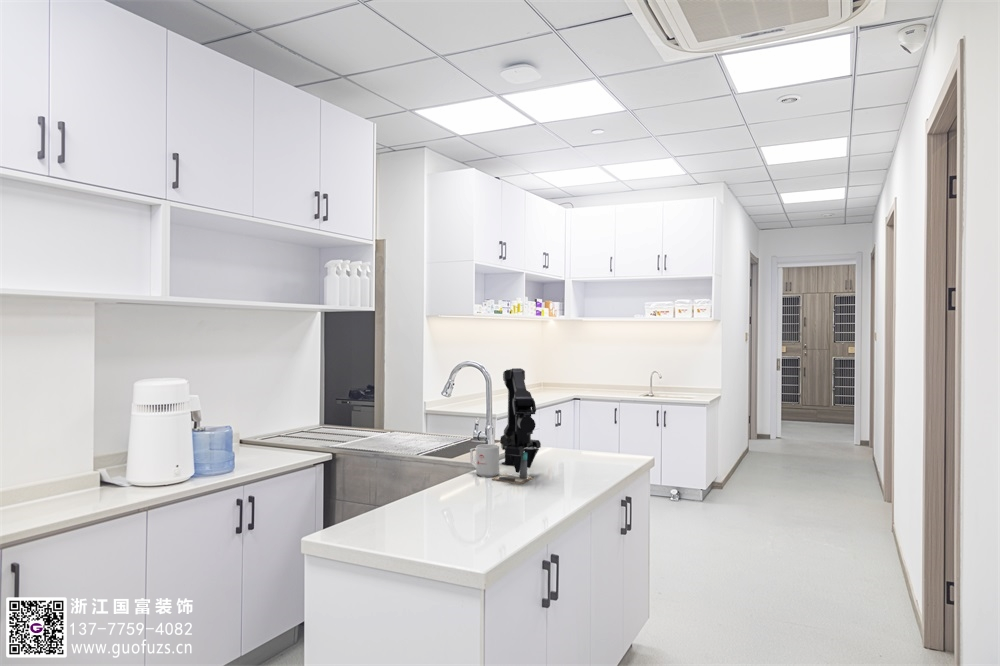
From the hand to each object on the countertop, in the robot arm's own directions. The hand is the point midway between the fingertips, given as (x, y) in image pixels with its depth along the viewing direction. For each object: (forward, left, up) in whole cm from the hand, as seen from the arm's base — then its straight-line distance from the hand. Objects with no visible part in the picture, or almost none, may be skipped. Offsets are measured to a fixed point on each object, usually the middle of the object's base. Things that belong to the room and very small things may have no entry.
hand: (523, 470), depth 251 cm
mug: (0, -17, -4) cm, 17 cm away
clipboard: (+2, -3, -4) cm, 5 cm away
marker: (0, 0, -3) cm, 3 cm away
